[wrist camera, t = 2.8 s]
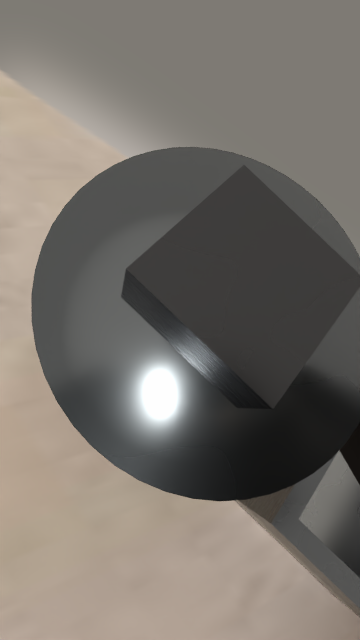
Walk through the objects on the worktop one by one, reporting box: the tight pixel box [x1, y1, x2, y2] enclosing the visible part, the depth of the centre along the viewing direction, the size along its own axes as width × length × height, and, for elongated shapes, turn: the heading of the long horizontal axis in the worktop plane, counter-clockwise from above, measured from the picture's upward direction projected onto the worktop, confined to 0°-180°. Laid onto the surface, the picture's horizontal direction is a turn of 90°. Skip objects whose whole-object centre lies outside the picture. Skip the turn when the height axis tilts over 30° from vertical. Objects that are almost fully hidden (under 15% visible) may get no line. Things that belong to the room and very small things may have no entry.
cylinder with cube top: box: [32, 147, 360, 501], centre depth 10 cm, size 4×4×14 cm
